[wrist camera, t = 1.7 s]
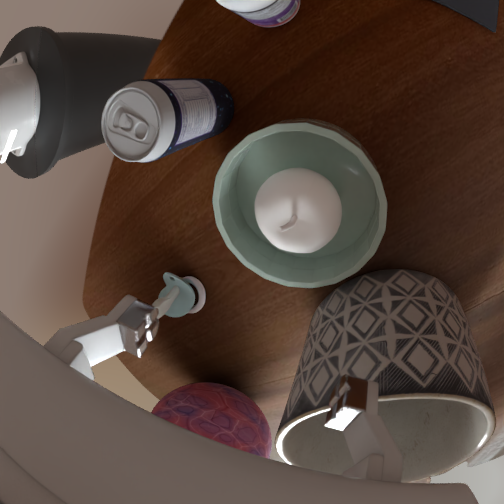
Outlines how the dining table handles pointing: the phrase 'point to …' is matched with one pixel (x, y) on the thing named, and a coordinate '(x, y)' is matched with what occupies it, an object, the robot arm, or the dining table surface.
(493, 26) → the mat
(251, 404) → the decorative sphere
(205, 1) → the dining table surface
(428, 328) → the planter
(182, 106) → the beverage can
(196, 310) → the pacifier
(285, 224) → the plain white apple
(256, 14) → the pill bottle
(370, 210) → the fruit bowl
